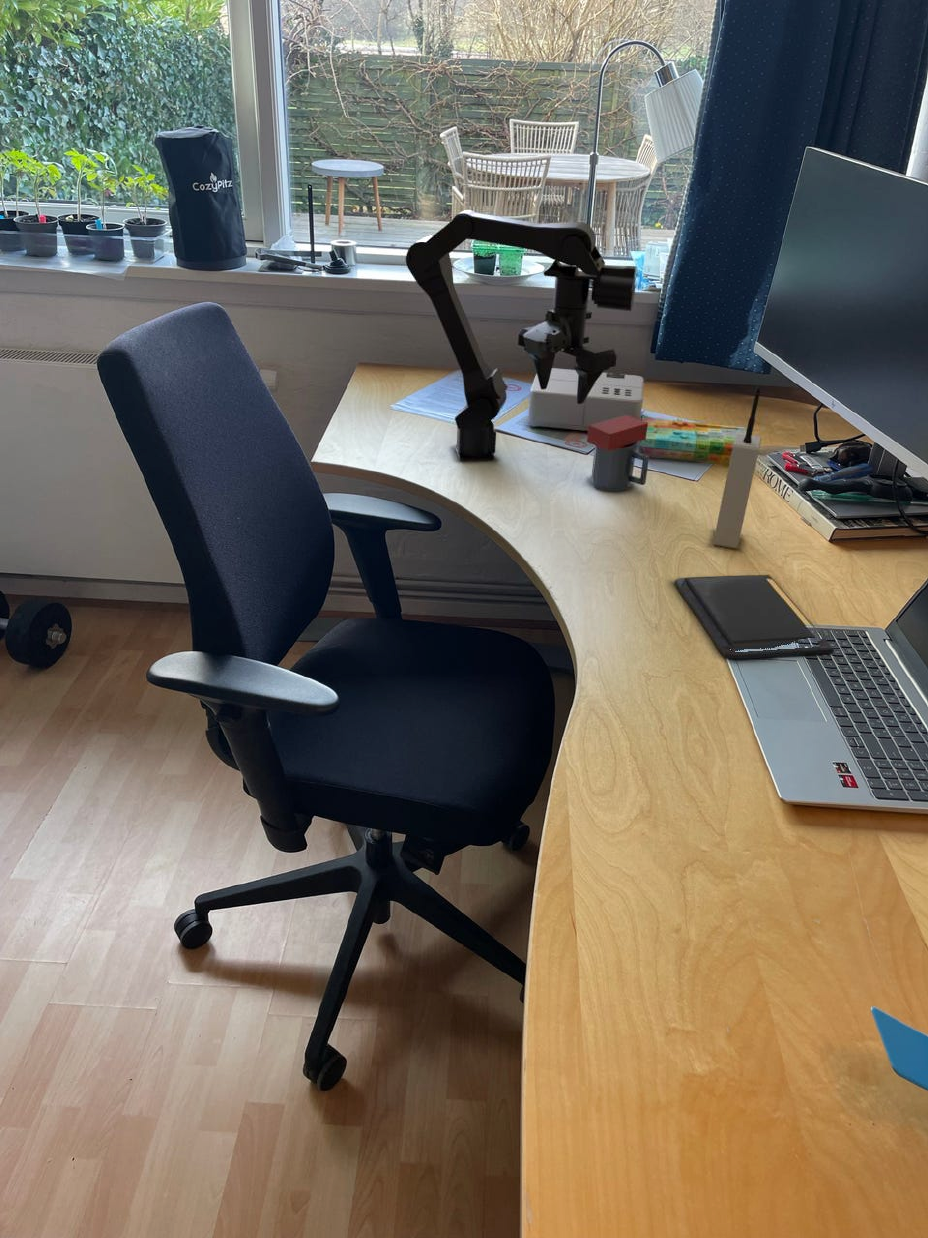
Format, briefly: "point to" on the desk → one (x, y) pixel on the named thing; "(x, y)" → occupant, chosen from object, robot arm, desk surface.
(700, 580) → the wallet
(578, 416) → the projector
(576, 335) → the robot arm
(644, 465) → the mug
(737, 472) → the vintage mobile phone
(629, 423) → the red rectangular block
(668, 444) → the puzzle game
